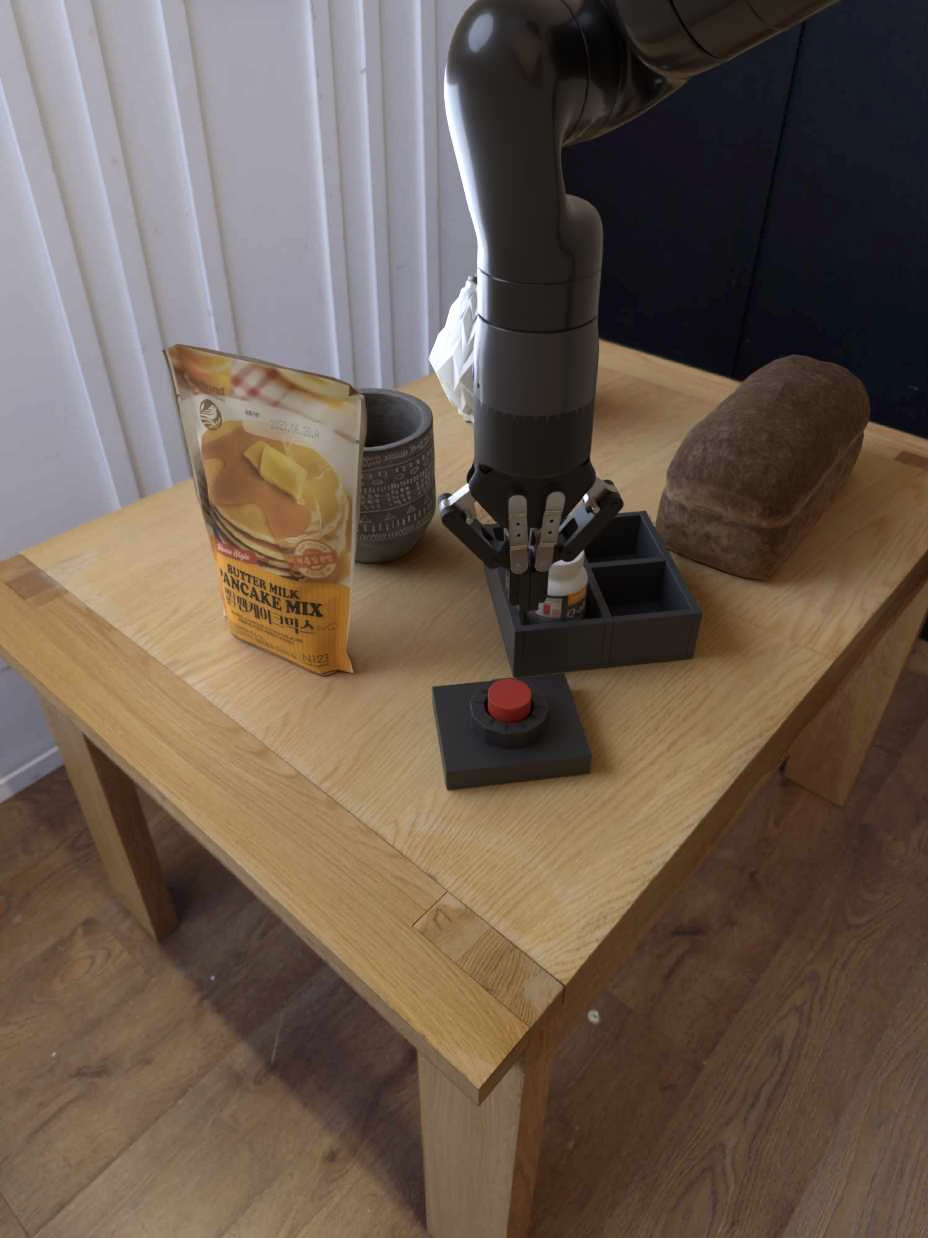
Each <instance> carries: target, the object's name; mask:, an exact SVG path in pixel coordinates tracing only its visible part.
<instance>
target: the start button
mask: <svg viewBox="0 0 928 1238" xmlns="http://www.w3.org/2000/svg"><path fill="white" fill-rule="evenodd" d="M530 710H531V690H530V688H529V687H528V686H527V685H526V684H525V683H523V682H521V681H519V680H515V679H503V680H499V681H497V682H495V683H494V684H493V685H492V686H491V687H490V688H489V690H488V712H489V714H490V715H491V716H492V717H493V718H494V719H495V720H497V721H500V722H504V723H515V722H521V721H523V720H524V719H526V718H527V717H528V715H529V714H530Z"/></svg>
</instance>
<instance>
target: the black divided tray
mask: <svg viewBox="0 0 928 1238" xmlns="http://www.w3.org/2000/svg"><path fill="white" fill-rule="evenodd" d="M568 517H569V516H567V517H566V518H565V519H564V520H563V521H562V522H560V526H561V525H562V524H563V523H564V522H565V520H566V519H567V518H568ZM652 521H653V520H652V519H651V517H650V516H649V514H648V512H647V510H639V511H638V510H637V511H626V512H618V514H617V515H616V516H615V517H614V518H613V519H612V520H611V521H610V522H609V523H608V524H607V525H606V526H605V527H604V528H603V530H602V531H601V532H600V533H599V534H598V535H597V536H596V537H595V538H594V539H593V540H592V541H591V542H590V543H589V545H588V546H587V547H586V548H585V549H584V563H583V567H584V568H585V570H586V572H587V576H588V584H587V593H586V602H585V613H584V620H574V621H564V622H554V623H544V624H533V625H524V612H518V609H517V606H511V604H510V602H509V599H508V596H507V592H506V568H504V567H498V568H496V569H491V568H488V567H487V566H486V565H485V564H484V563H483V571H484V574H485V579H486V582H487V586H488V590H489V593H490V597H491V600H492V604H493V609H494V611H495V615H496V619H497V623H498V627H499V630H500V634H501V638H502V642H503V645H504V649H505V652H506V656H507V660H508V663H509V666H510V670H511V674H512V678H520V677H530V676H539V675H549V674H558V673H567V672H576V671H587V670H595V669H604V668H615V667H625V666H636V665H643V664H644V665H645V664H653V663H660V662H661V663H663V662H672V661H673V662H674V661H681V660H683V661H684V660H691V659H694V656H695V652H696V651H695V650H696V646H697V641H698V637H699V632H700V627H701V622H702V618H703V611H702V609H701V608H700V606H699V604H698V602H697V600H696V599H695V596H694V595H693V593H692V592H691V590H690V587H689V586H688V584H687V582H686V581H685V579H684V577H683V575H682V574H681V572H680V570H679V568H678V566H677V565H676V563H675V560H674V559H673V557H672V555H671V553H670V552H669V549H668V548H666V546H665V545H664V543H663V541H662V539H661V537H660V536H659V534H658V532H657V530H656V528H655V524H654V522H652ZM483 526H484V527H485V528H486V529H487V530H488V531H489V532H490V533H491V534H492V535H493V536H494V537H495V538H496V539H497V540H498V541H503V542H505V540H504V529H503V527H501V526H500V525H498V524H497V523H496V522H495V523H485V524H483ZM527 531H528V544H529V536H530V529H527ZM527 554H528V555H529V548H528V547H527Z"/></svg>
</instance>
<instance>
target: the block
mask: <svg viewBox="0 0 928 1238" xmlns="http://www.w3.org/2000/svg"><path fill="white" fill-rule="evenodd" d="M503 679H515V680H519V681H521V682H523V683H525V684H526V685H527V686H528V687H529V688H530V690H531V710H530V714H529V715H528V717H527V718H526V719H524V720H523V721H521V722H515V723H504V722H500V721H497V720H495V719H494V718H493V717H492V716H491V715H490V714H489V712H488V690H489V688H490V687H491V686H492V685H493V684H494V683H495V682H497V681H499V680H503ZM431 698H432V700H431V701H432V708H433V714H434V715H433V716H434V721H435V722H434V723H435V726H436V728H435V729H436V732H437V739H438V746H439V753H440V759H441V765H442V769H443V770H442V771H443V776H444V782H445V788H446V790H447V791H451V790H458V789H467V788H475V787H476V788H477V787H485V786H486V787H487V786H493V785H494V786H495V785H501V784H509V783H519V782H527V781H536V780H546V779H555V778H561V777H570V776H571V777H572V776H579V775H588V774H591V767H592V761H593V753H592V752H591V748H590V746H589V742H588V739H587V736H586V733H585V730H584V727H583V724H582V721H581V718H580V716H579V712H578V710H577V707H576V704H575V701H574V697H573V695H572V692H571V688H570V686H569V683H568V680H567V677H566V674H565V672H558V673H549V674H539V675H530V676H520V677H513V676H511V677H503V678H494V679H490V680H482V681H473V682H465V683H454V684H445V685H436V686H432V687H431Z"/></svg>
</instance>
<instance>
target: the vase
mask: <svg viewBox="0 0 928 1238" xmlns="http://www.w3.org/2000/svg"><path fill="white" fill-rule="evenodd" d="M477 311H478V308H477V272H475V273H474V275H468V277H467V280H466V281H465V285H464V286H463V287H462V288H461V289H460V292H459V296H458V297H457V298H456V299H455V301H454V302H453V303H452V304H451V306H450V308H449V312H448V314H447V315H448V316H447V319H446V322H445V326H444V327H443V328H442V329H441V330H440V332H439V333H438V335H437V337H436V340H435V342H434V344H433V346H432V349H431V352H430V354H429V357H428V360H429V361H428V362H430V364H431V366H432V369H433V370H434V372H435V375H436V376H437V379H438V380H439V383H440V385H441V388H442V390H443V392H444V393H445V395H446V397H447V399H448V401H449V403H450V404H451V405H452V406H454V407H456V408H457V413H458V415H461V416H462V420H463V421H464V422H465V421H466V422H471V423H472V424H473V425H474V383H473V378H472V365H473V352H474V339H475V332H476V324H477Z"/></svg>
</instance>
